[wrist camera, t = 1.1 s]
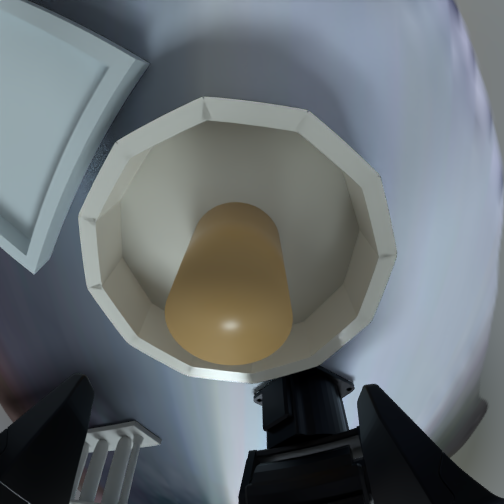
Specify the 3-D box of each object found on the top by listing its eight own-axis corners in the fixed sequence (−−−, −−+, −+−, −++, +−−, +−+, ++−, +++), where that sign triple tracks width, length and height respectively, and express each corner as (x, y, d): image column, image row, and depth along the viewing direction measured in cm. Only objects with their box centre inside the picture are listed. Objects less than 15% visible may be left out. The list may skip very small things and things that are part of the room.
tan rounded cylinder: (297, 236, 18) (319, 312, 12) (244, 294, 20) (241, 379, 14) (226, 184, 17) (210, 239, 10) (177, 250, 19) (143, 327, 12)
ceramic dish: (414, 220, 18) (445, 248, 15) (258, 369, 24) (259, 409, 20) (207, 45, 14) (193, 29, 10) (76, 259, 20) (49, 290, 16)
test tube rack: (135, 419, 29) (108, 526, 17) (162, 439, 30) (143, 540, 19) (36, 434, 34) (10, 498, 23) (56, 449, 36) (34, 512, 24)
